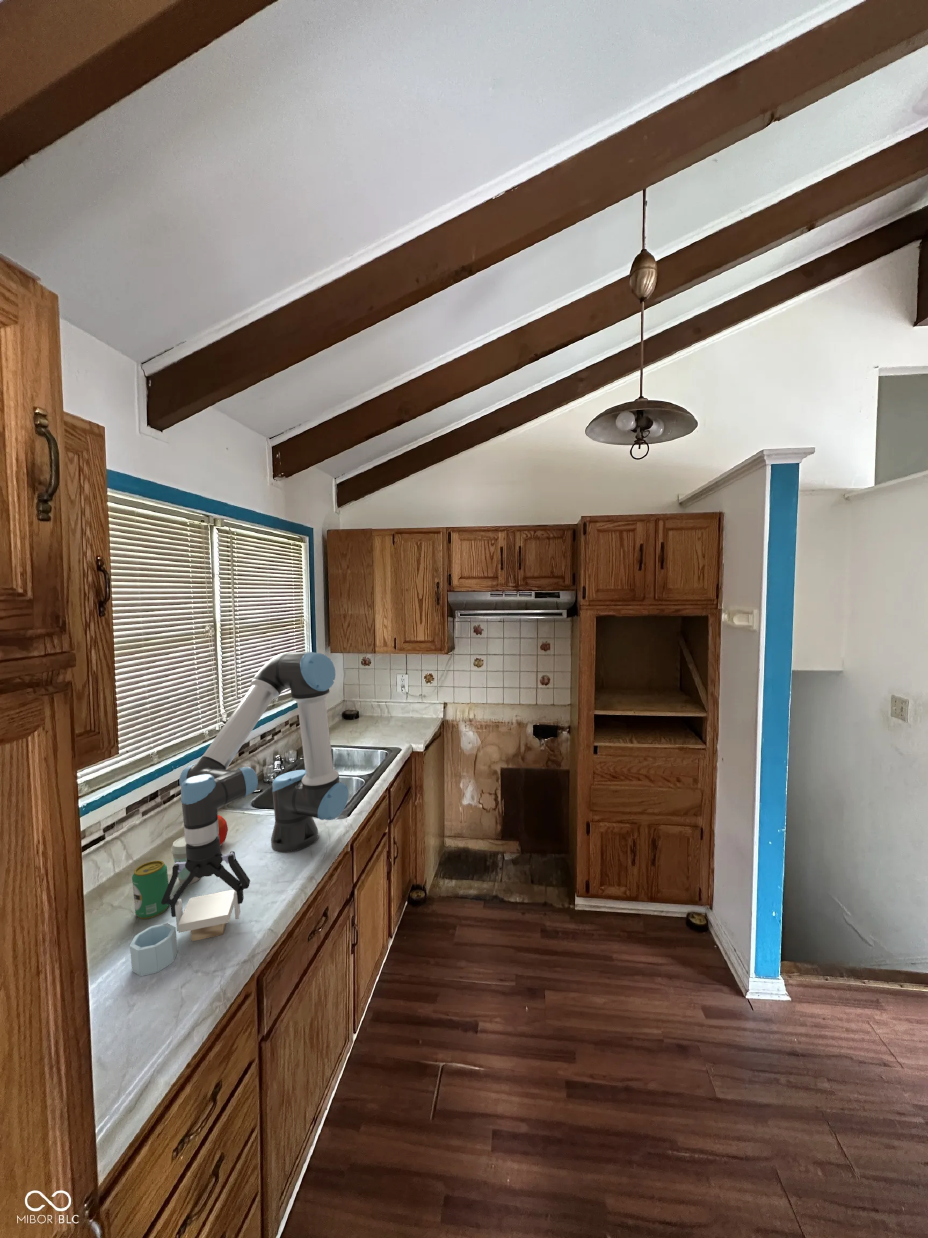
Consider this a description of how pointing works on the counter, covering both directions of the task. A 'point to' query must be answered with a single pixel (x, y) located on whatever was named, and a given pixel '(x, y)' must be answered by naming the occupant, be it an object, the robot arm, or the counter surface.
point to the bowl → (153, 949)
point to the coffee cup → (181, 858)
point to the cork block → (207, 932)
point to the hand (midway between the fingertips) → (209, 921)
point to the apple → (222, 829)
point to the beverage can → (150, 889)
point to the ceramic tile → (207, 911)
